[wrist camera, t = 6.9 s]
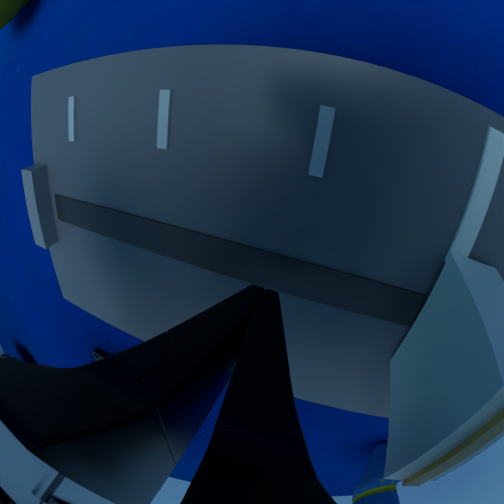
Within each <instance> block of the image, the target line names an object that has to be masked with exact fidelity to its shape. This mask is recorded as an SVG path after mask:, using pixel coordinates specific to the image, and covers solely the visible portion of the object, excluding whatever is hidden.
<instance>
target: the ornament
mask: <svg viewBox="0 0 504 504" xmlns="http://www.w3.org/2000/svg"><path fill="white" fill-rule="evenodd" d="M386 455H387V446H386V444H384V443H381V444H378V445H377V446H376V448H375V450H374V452H373V454H372V456H371V458H370V460H369V462H368V464H367V466H366V468H365V470H364V472H363V474H362V475H361V477H360V479H359V481H358V483H357V485H356V487H355V490H354V493H353V499H352V501H353V504H399V498H398V494H397V490H396V485H397V482H398V480H391V479H384V472H385V464H386Z"/></svg>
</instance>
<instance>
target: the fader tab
mask: <svg viewBox="0 0 504 504" xmlns="http://www.w3.org/2000/svg"><path fill="white" fill-rule="evenodd" d="M503 436H504V281H503V279H502V277H501V276H500V274H499V273H498V271H497V270H496V268H494V267H491V266H488V265H486V264H483V263H480V262H478V261H475V260H472V259H469V258H466V257H464V256H461V255H458V254H455V253H452V252H450V254H449V257H448V259H447V261H446V263H445V265H444V267H443V270H442V272H441V274H440V276H439V278H438V280H437V282H436V284H435V286H434V288H433V290H432V292H431V294H430V295H429V297H428V299H427V301H426V303H425V305H424V307H423V308H422V310H421V312H420V314H419V315H418V317H417V319H416V321H415V322H414V324H413V326H412V327H411V329H410V331H409V332H408V334H407V336H406V337H405V339H404V340H403V342H402V344H401V345H400V347H399V348H398V350H397V351H396V353H395V354H394V356H393V357H392V359H391V360H390V414H389V432H388V444H387V455H386V464H385V472H384V479H391V480H403V484H402V485H403V486H419V485H421V484H423V483H425V482H427V481H432V480H437V479H439V478H441V477H443V476H444V475H446V474H448V473H450V472H451V471H453V470H455V469H456V468H458V467H460V466H461V465H463V464H465V463H466V462H468V461H469V460H471V459H472V458H474V457H475V456H477V455H478V454H480V453H481V452H482V451H484V450H485V449H487V448H488V447H490V446H491V445H492V444H494V443H495V442H496V441H498V440H499V439H500V438H502V437H503Z"/></svg>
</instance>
